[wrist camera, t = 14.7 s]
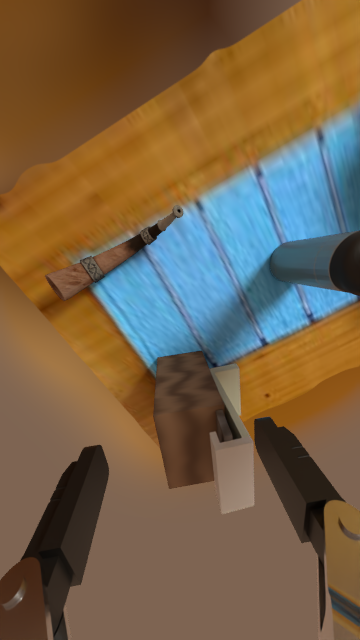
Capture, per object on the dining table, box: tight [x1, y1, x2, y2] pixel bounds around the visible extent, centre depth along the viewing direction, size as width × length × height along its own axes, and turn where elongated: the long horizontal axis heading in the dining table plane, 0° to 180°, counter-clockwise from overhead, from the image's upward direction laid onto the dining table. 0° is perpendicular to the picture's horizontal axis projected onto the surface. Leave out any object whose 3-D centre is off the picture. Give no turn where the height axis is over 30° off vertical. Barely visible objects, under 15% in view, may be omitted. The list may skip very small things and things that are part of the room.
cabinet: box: [153, 351, 233, 489], centre depth 42 cm, size 12×18×25 cm, turn 7°
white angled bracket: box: [209, 364, 254, 514], centre depth 39 cm, size 12×14×20 cm
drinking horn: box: [45, 205, 183, 301], centre depth 38 cm, size 6×30×10 cm, turn 119°
